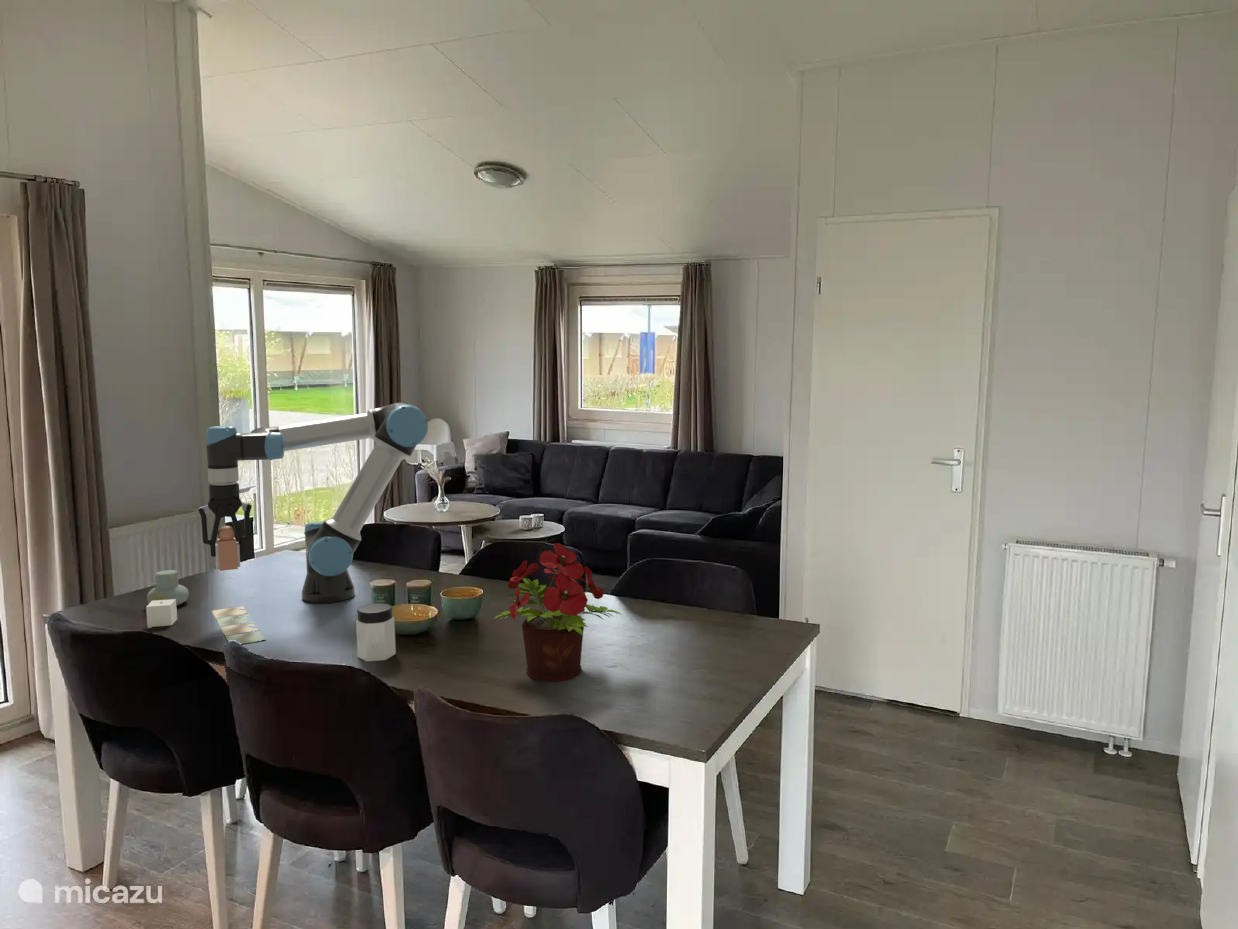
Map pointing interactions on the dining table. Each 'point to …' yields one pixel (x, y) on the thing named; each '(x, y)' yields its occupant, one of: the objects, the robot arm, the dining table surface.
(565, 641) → the potted plant
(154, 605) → the die
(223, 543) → the orange-brown peg figure
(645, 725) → the dining table surface
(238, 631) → the track
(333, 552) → the robot arm
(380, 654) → the jar
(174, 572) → the air freshener
